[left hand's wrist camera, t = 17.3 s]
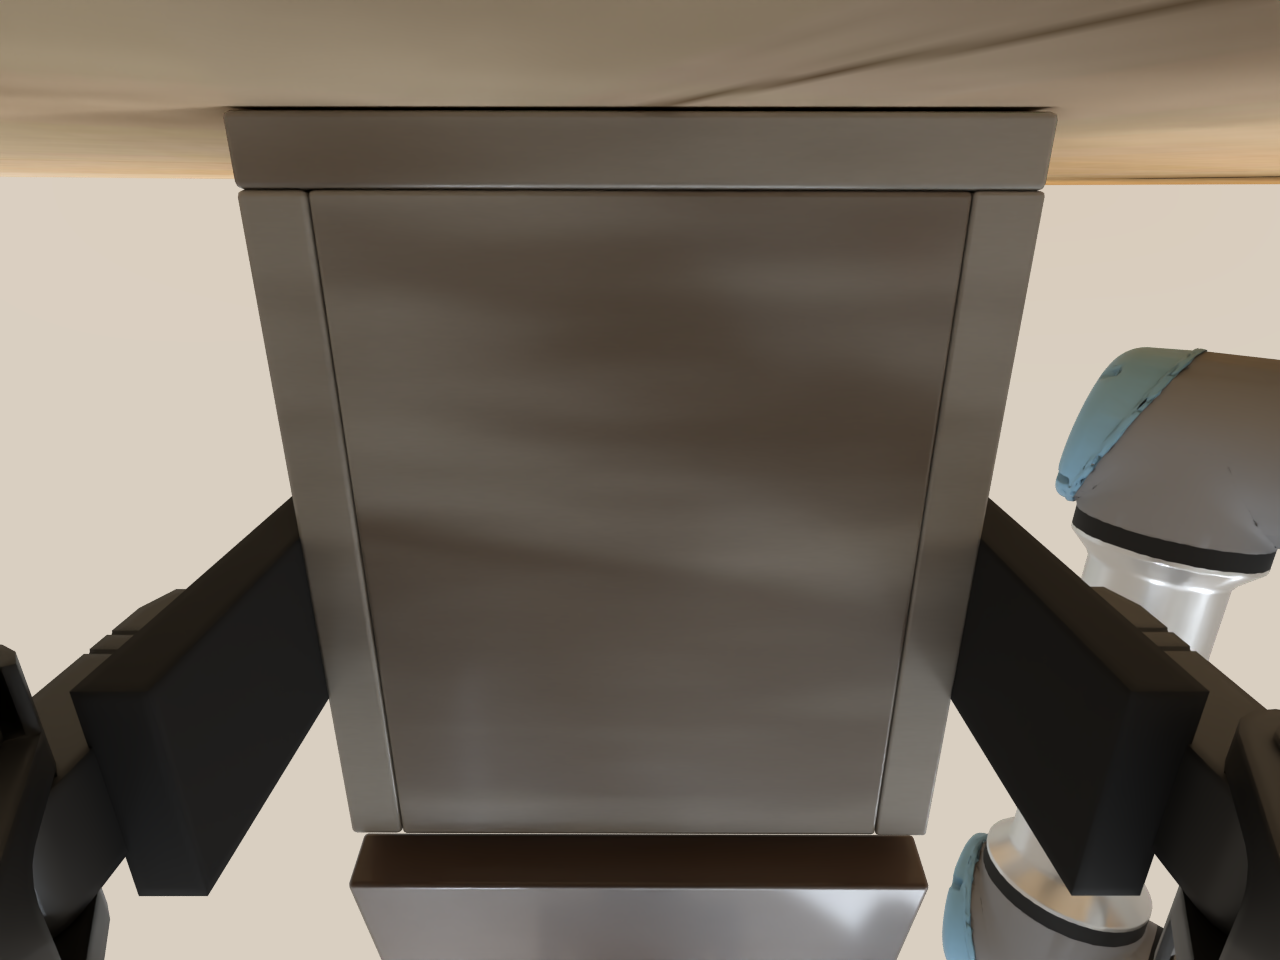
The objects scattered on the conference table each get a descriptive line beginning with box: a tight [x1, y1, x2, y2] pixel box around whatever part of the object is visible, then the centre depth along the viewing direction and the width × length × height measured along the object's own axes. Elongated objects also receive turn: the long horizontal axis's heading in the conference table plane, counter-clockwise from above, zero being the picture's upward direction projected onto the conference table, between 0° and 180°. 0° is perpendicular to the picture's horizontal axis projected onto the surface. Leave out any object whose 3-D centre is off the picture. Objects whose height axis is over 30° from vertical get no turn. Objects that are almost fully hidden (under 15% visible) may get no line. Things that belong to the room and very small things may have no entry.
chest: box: [224, 110, 1057, 835], centre depth 18 cm, size 17×10×11 cm, turn 0°
